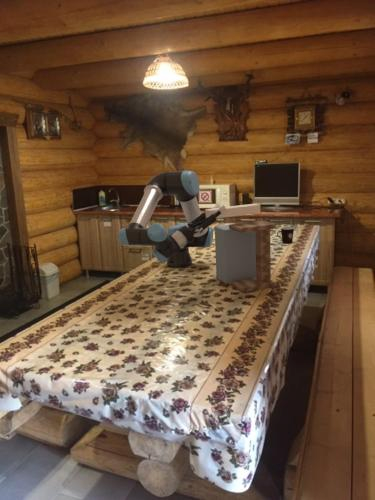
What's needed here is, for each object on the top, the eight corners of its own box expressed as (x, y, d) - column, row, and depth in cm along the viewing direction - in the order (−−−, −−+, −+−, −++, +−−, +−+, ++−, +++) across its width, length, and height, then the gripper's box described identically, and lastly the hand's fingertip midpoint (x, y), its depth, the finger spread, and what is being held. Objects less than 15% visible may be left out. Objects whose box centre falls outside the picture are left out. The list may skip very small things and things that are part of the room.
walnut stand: (242, 292, 194) (240, 228, 187) (230, 285, 205) (229, 224, 198) (276, 286, 199) (276, 224, 192) (263, 279, 210) (262, 220, 203)
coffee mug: (292, 241, 291) (292, 226, 288) (294, 243, 282) (294, 229, 280) (275, 241, 292) (275, 227, 290) (277, 244, 284) (277, 229, 281)
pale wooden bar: (209, 219, 191) (209, 210, 190) (205, 217, 195) (205, 209, 194) (260, 213, 199) (260, 204, 198) (255, 211, 204) (254, 203, 203)
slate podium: (226, 283, 207) (224, 230, 201) (216, 277, 218) (214, 226, 212) (256, 278, 212) (256, 226, 206) (245, 272, 224) (244, 222, 217)
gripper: (180, 239, 200) (218, 211, 204) (194, 247, 184) (235, 215, 187) (172, 227, 197) (210, 198, 201) (185, 233, 181) (227, 202, 185)
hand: (222, 206), depth 194 cm, fingers closed on pale wooden bar, 5 cm apart
